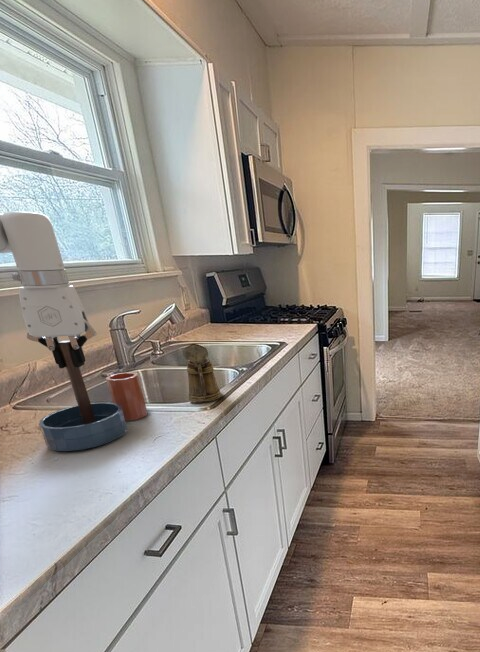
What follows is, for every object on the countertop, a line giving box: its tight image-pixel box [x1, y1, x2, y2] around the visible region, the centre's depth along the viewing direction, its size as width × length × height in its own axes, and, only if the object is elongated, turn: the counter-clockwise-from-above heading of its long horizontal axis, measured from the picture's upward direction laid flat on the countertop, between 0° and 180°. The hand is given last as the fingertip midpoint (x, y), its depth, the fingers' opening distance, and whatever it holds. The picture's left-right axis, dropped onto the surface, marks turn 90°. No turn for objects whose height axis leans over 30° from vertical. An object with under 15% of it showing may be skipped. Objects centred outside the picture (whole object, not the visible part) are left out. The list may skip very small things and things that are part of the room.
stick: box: [58, 339, 96, 424], centre depth 91 cm, size 2×2×20 cm
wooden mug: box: [182, 343, 222, 404], centre depth 112 cm, size 9×14×18 cm, turn 23°
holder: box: [105, 371, 148, 422], centre depth 103 cm, size 7×7×11 cm
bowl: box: [38, 401, 128, 452], centre depth 92 cm, size 15×15×6 cm
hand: (72, 365), depth 89 cm, fingers closed on stick, 2 cm apart
